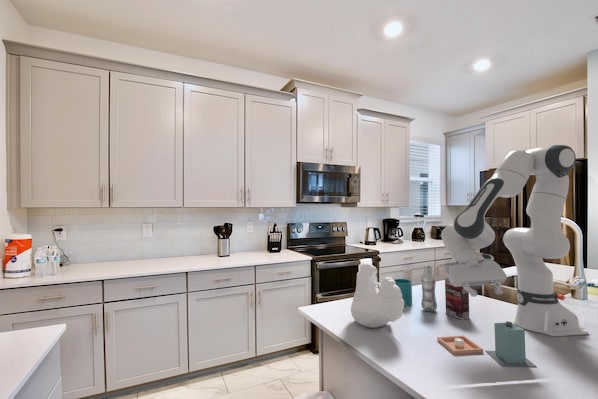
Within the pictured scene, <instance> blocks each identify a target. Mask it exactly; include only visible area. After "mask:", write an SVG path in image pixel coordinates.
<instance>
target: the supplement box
mask: <svg viewBox="0 0 598 399" xmlns="http://www.w3.org/2000/svg"><path fill="white" fill-rule="evenodd" d="M444 289H445V291H444V294H445V295H444V296H445V298H444V299H445V314H446V315H450V316H452V317H455V318H457V319H460V320H462V321H463V320H466V319H470V293H469V292H467V291H466V290H465V289H464V288H463V286H460V287H454V286H453V285H451V283H450V281H449V279H448V277H446V278H444Z"/></svg>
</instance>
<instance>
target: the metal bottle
mask: <svg viewBox="0 0 598 399" xmlns="http://www.w3.org/2000/svg"><path fill="white" fill-rule="evenodd" d="M433 272H434V271H433V267H432V266H424V267H423V273H422V274H421V276H420V282H421V291H422V294H421V295H422V296H421V308H422V310H424V311H426V312H435V311H436V310H437V309H438V303H437V301H436V300H437V298H436V285H437V284H436V282H437V279H436V276H435V275H434V273H433Z"/></svg>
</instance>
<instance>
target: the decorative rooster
mask: <svg viewBox="0 0 598 399" xmlns="http://www.w3.org/2000/svg"><path fill="white" fill-rule="evenodd" d="M377 274H378V269H377V267H376V266H374V265H373V264H372V263H370V262H366V263H365V262H364V263H361V265H360V269H359V271H358V272H357V273H356V286H355V291H354V295H353V297H352V302H351V304H350V305H351V306H350V314H351V316H352V318H353V319H354V321H355V322H356V323H358V324H360V325H363V326H365V327H366V328H377V329H378V328H381V327H384V326H385V325H387V324H389V322H392V323H395V321H397V320H399V319H400V318H402V316H403V313H404V311H403V310H405V306H404V300H403V299H402V294H401V290H400V288H399V287H398V286H397V285H395V284H396V282H395V281H394V279H393V277H390V276H386V277H384V278H383V279H382V281H381V282H378V277H377Z"/></svg>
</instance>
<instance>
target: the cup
mask: <svg viewBox="0 0 598 399" xmlns="http://www.w3.org/2000/svg"><path fill="white" fill-rule="evenodd" d="M393 280H394V281H395V282H396V284H395V285H397V286H398V287H399V288H400V290H401V294H402V299H403V300H404V307H410V306H411V305H413V283H412V282H413V281H412V280H410V279H406V278H395V279H393Z"/></svg>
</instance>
